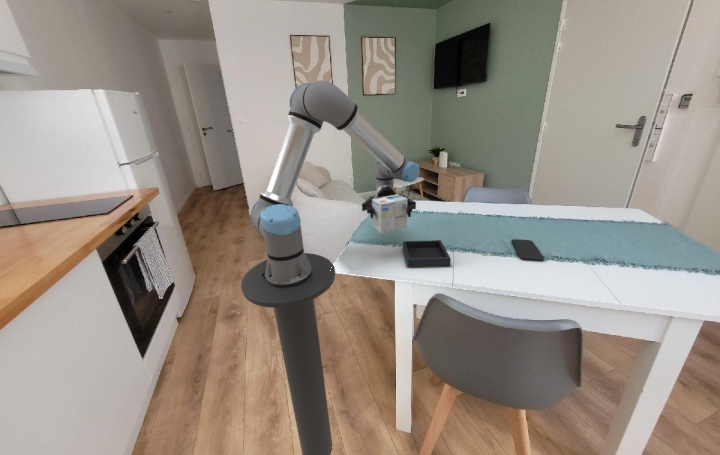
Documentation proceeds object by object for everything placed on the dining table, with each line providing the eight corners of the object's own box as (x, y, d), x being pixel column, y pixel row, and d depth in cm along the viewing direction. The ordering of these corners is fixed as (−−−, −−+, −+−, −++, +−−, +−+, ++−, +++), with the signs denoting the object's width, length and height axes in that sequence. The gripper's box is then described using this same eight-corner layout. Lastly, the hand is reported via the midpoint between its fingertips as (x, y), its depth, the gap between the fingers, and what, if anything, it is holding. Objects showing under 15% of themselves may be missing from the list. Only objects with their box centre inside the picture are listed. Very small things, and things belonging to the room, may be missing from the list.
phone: (520, 257, 100) (510, 238, 113) (520, 259, 100) (510, 240, 114) (544, 259, 98) (531, 240, 112) (544, 261, 99) (531, 242, 112)
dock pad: (407, 267, 99) (407, 259, 98) (402, 248, 112) (402, 241, 111) (450, 266, 98) (450, 258, 97) (440, 247, 112) (440, 240, 111)
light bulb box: (397, 221, 107) (397, 193, 103) (407, 227, 102) (408, 198, 97) (372, 227, 103) (371, 198, 99) (381, 234, 98) (380, 203, 93)
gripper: (416, 203, 118) (426, 223, 98) (356, 205, 118) (355, 225, 98) (416, 185, 115) (427, 201, 95) (355, 187, 115) (353, 204, 96)
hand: (390, 214), depth 97 cm, fingers closed on light bulb box, 12 cm apart
